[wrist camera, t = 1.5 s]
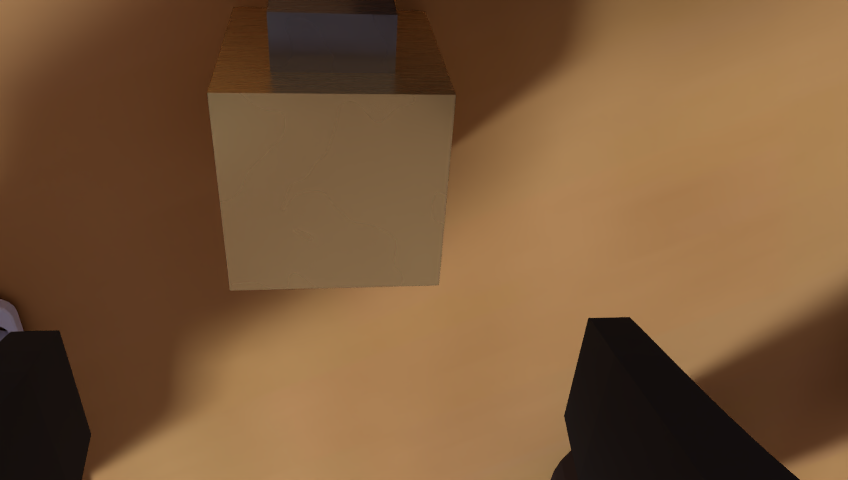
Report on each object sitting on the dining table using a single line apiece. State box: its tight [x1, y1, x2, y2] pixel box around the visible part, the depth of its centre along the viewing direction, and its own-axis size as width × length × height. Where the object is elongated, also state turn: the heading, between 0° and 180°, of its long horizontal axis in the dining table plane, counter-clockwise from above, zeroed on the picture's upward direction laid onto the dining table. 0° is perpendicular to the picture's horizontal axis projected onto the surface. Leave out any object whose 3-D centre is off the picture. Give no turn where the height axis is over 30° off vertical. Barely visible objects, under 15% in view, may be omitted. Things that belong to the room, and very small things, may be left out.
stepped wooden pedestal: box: [207, 0, 456, 291], centre depth 16 cm, size 6×4×5 cm
